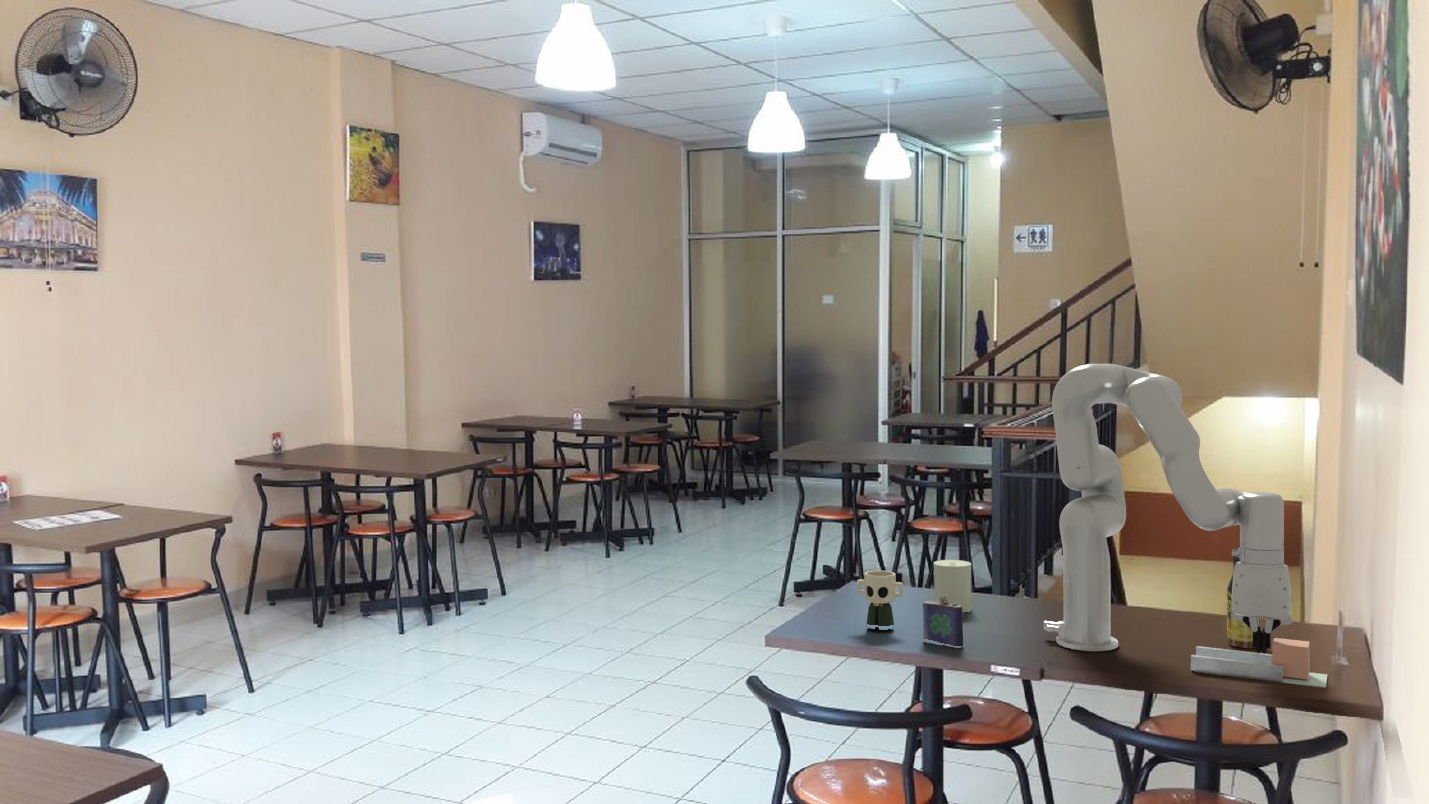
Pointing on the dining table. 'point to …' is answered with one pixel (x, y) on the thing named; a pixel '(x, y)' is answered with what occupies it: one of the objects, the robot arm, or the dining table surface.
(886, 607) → the character mug
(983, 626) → the dining table surface
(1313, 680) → the pad
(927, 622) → the flask
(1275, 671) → the chute
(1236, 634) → the sauce bottle
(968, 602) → the can
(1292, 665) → the block
